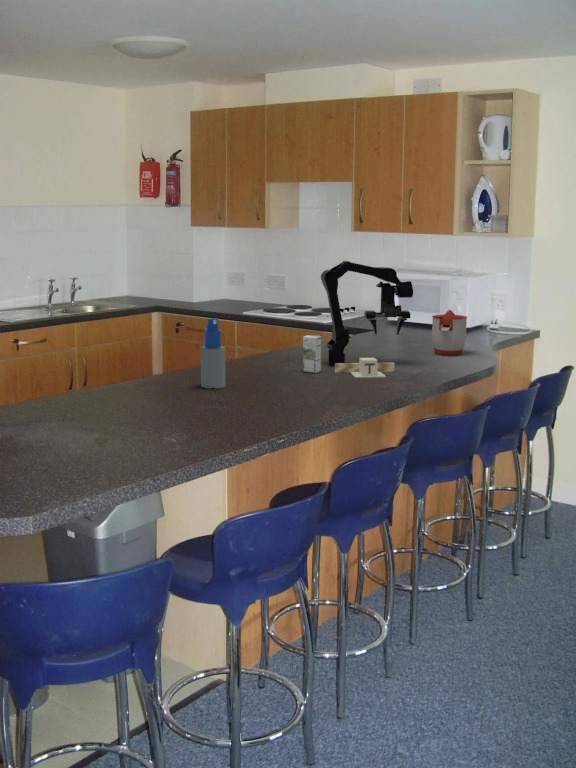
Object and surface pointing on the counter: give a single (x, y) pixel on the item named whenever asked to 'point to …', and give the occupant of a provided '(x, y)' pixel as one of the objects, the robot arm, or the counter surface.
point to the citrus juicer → (449, 333)
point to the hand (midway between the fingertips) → (386, 334)
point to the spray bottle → (212, 357)
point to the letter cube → (367, 366)
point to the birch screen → (355, 367)
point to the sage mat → (358, 375)
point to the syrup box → (311, 353)
